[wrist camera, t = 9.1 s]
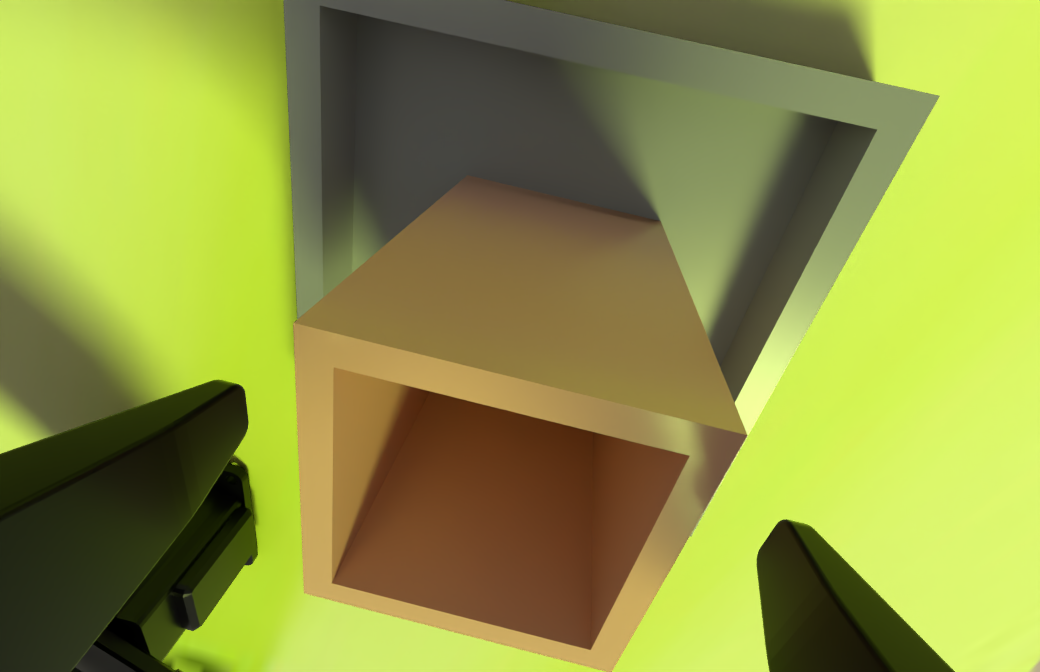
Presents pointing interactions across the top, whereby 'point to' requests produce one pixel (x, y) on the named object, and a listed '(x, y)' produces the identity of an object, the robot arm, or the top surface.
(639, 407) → the terracotta cup
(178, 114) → the top surface
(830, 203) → the tray
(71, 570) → the robot arm
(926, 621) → the top surface
